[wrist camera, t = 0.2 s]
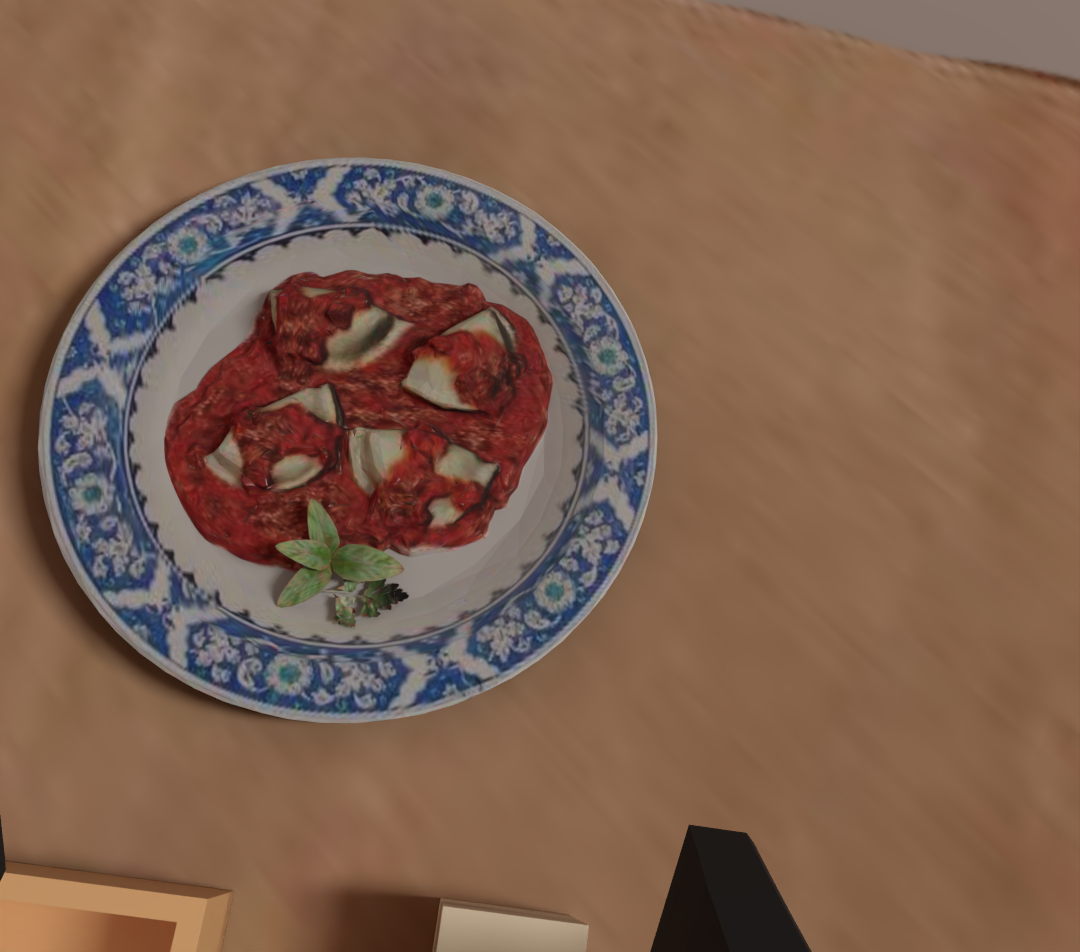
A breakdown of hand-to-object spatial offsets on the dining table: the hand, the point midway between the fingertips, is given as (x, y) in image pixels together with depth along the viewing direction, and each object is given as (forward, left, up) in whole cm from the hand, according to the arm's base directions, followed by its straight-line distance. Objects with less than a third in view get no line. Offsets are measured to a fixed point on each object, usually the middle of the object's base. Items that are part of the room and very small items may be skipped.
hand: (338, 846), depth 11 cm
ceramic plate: (+17, +5, -31) cm, 36 cm away
